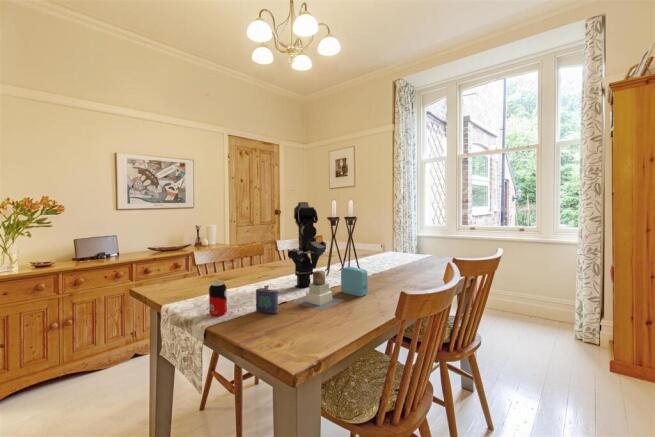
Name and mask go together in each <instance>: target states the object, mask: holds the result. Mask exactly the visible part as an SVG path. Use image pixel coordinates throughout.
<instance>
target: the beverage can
mask: <svg viewBox="0 0 655 437" xmlns="http://www.w3.org/2000/svg"><path fill="white" fill-rule="evenodd" d="M225 283H226V282H224V281H214V282H211V283H210V286H209V288H208V300H209V301H208V302H209V303H208V304H209V314H210V315H211V316H212V317H221V315H222V316H224V315H225V314H226V313H227V312H228V303H227V302H228V301H227V300H228V297H227V296H228V295H227V286H226V284H225Z"/></svg>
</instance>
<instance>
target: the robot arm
mask: <svg viewBox="0 0 655 437" xmlns="http://www.w3.org/2000/svg"><path fill="white" fill-rule="evenodd" d="M293 219H294V221H295V224H296V226H297V228H298V249H290V250H288V251H287V257H288V258H289V259H291V260H292V261H293V263H294V275H295V277H296V284H295V285H294V287H295V288H299V289H306V288H309V284H311V276H313V272H314V270H315V269H316V268H317V266H318V265H317V264H318V262H319V259H320V257H322V255H323V254H324V253H326V250H327V242H326V241H321V242H317V238H316V235H317V228H316V227H315V225H314V224H317V223H318V222H319V217H318V212H317V210H316V209H315V207H314V206H310V205H309V202H307V201H299V202H298V203H297V206H296V207H294V209H293ZM309 256H310V257H309Z"/></svg>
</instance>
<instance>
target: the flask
mask: <svg viewBox="0 0 655 437" xmlns="http://www.w3.org/2000/svg"><path fill="white" fill-rule="evenodd" d="M269 287H270V286H269V285H268V284H267V285H264V288H263V287H259V288H256V289H255V312H256V313H259V314H266V315H277V314H278V313H279V302H278V299H279V298H278V296H279V295H278V294H279V291H278V290H277V289H269Z"/></svg>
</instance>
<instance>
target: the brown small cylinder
mask: <svg viewBox="0 0 655 437" xmlns="http://www.w3.org/2000/svg"><path fill="white" fill-rule="evenodd" d="M312 283H313V285H324V284H325V283H326V271H324V270H315V271H314V270H313V274H312Z"/></svg>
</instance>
